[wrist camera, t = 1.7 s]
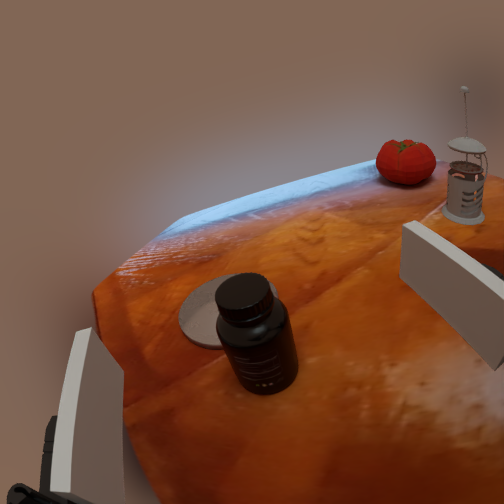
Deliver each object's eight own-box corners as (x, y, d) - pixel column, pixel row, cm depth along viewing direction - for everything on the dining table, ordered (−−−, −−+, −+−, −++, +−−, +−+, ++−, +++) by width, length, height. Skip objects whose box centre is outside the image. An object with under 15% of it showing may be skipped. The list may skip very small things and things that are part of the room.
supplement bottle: (238, 351, 35) (208, 271, 28) (296, 343, 34) (280, 258, 28) (236, 400, 29) (197, 322, 23) (301, 392, 28) (285, 309, 22)
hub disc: (262, 269, 48) (261, 263, 47) (294, 326, 36) (293, 320, 35) (178, 296, 46) (176, 291, 46) (186, 362, 35) (182, 356, 34)
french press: (432, 209, 52) (428, 83, 39) (465, 197, 53) (464, 84, 40) (465, 229, 44) (469, 88, 31) (497, 215, 45) (502, 90, 32)
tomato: (444, 179, 63) (444, 141, 58) (410, 197, 58) (409, 153, 53) (403, 166, 75) (401, 132, 69) (365, 181, 70) (361, 143, 65)
